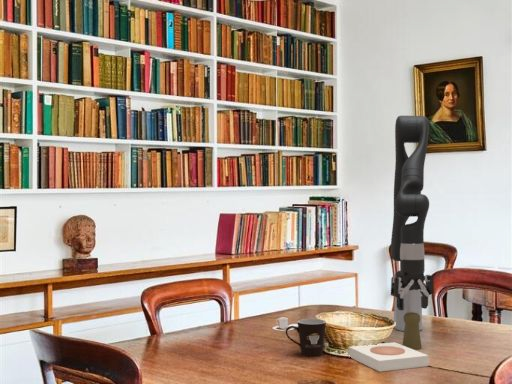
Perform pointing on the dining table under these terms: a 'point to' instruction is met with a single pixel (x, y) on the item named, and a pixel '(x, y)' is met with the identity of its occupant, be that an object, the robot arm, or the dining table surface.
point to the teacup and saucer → (284, 324)
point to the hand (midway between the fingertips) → (412, 309)
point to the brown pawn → (412, 331)
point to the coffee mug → (310, 336)
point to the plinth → (388, 356)
